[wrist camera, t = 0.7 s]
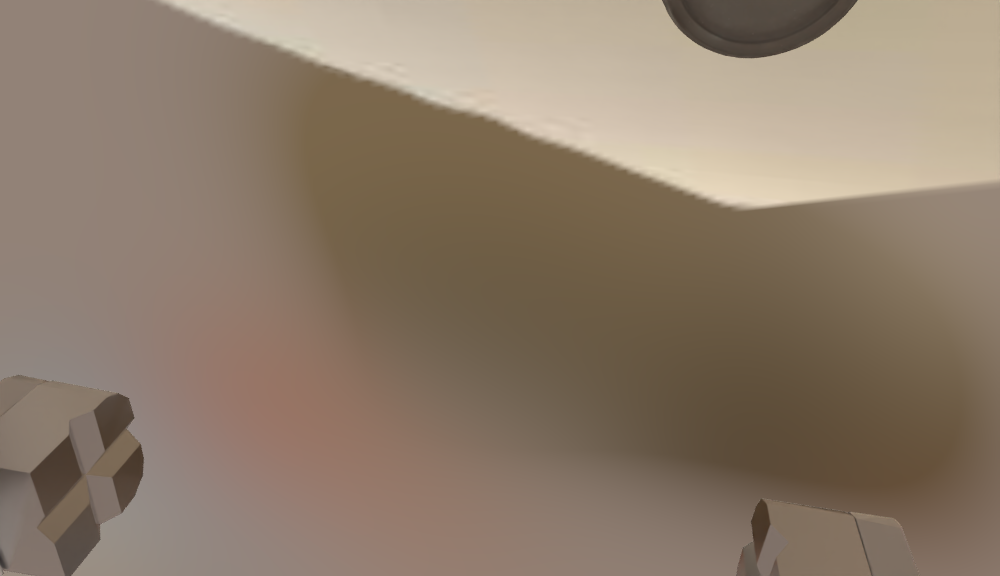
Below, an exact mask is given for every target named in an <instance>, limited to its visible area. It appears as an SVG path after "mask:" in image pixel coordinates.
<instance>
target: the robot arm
mask: <svg viewBox="0 0 1000 576" xmlns="http://www.w3.org/2000/svg"><path fill="white" fill-rule="evenodd" d="M133 419H134V414H133V411H132V408H131V404H130V401H129V398H127V397H125V396H123V395H121V394H119V393H115V392H109V391H104V390H99V389H93V388H88V387H83V386H78V385H73V384H67V383H62V382H57V381H46V380H42V379H36V378H31V377H26V376H22V375H16V376H12V377H8V378H4V379H3V380H1V382H0V576H2V575H3V574H4V572H3V570H4V571H10V572H16V573H22V574H28V575H35V576H71V575H72V574H73V573H74V572H75V570H76V569H77V568H78V566H79V565H80V564H81V563H82V562H83V560H84V559H85V558H86V557H87V556H88V554H89V553H90V552H91V551H92V549H93V548H94V547H95V546H96V544H97V543H98V542H99V541H100V524H102V523H104V522H106V521H108V520H110V519H112V518H113V517H115V516H117V515H119V514H121V513H122V512H123V511H124V509H125V508H126V507H127V506H128V504H129V503H130V502H131V500H132V499H133V498H134V496H135V494H136V491H137V489H138V486H139V484H140V481H141V479H142V476H143V464H144V457H143V452H142V448H141V444H140V443H139V442H138V440H137V439H135V437H134V436H133V435H132V434H131V433H130V432H129V431H128V430H127V428H128V427H129V425H130V424H131V422H132V421H133ZM751 525H752V533H753V542H751V543H749V544H748V545H746V546H745V547H743V549H742V553H741V556H740V560H739V563H738V567H737V575H736V576H920V575H919V572H918V569H917V567H916V564H915V561H914V559H913V556H912V553H911V551H910V548H909V545H908V543H907V540H906V537H905V535H904V532H903V530H902V527H901V525H900V524H899V523H898V522H897V521H896V520H895V519H894V518H888V517H881V516H875V515H868V514H861V513H854V512H848V513H847V512H844V511H838V510H832V509H826V508H819V507H813V506H806V505H800V504H794V503H787V502H780V501H774V500H767V499H760V501H759V503H758V504H757V506H756V508H755V511H754V514H753V517H752V520H751Z"/></svg>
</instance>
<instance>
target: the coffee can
mask: <svg viewBox="0 0 1000 576" xmlns="http://www.w3.org/2000/svg"><path fill="white" fill-rule="evenodd" d="M662 1H663V3H664V5H665V7H666V10H667V12H668V14H669V16H670V17H671V19H672V20H673V22H674V23H675V24H676V26H677V27H678V28H679V29H680V30H681V31H682V32H683V33H684V34H685V35H686V36H687V37H688V38H690V39H691V40H692V41H694V42H695V43H697V44H698V45H700V46H702V47H704V48H706V49H708V50H711V51H713V52H716V53H719V54H722V55H725V56H731V57H737V58H759V57H767V56H772V55H777V54H781V53H784V52H787V51H790V50H793V49H796V48H798V47H800V46H803V45H805V44H807V43H809V42H811V41H813V40H814V39H816V38H818V37H819V36H821V35H822V34H824V33H825V32H826V31H828V30H829V29H830V28H831V27H833V26H834V25H835V24H836V23H837V22H839V21H840V20H841V19H842V18H843V17H844V16H845V15H846V14H847V13H848V11H849V10H850V9H851V8H852V7H853V6H854V4H855V3H856V2H857V0H662Z"/></svg>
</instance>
